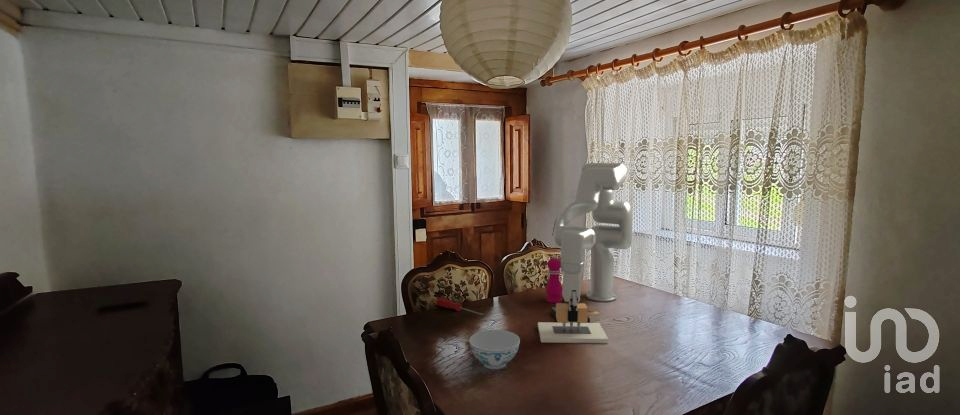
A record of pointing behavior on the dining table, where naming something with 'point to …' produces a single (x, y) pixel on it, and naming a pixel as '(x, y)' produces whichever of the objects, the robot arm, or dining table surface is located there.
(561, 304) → the plug housing
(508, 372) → the dining table surface
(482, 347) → the chinaware
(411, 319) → the dining table surface
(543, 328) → the board
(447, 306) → the screwdriver
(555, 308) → the disk drive
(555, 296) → the pepper mill
